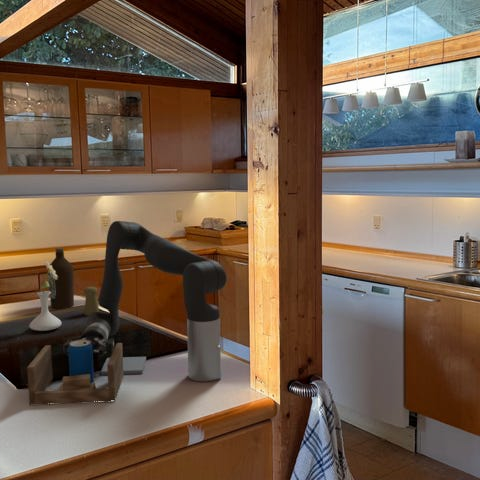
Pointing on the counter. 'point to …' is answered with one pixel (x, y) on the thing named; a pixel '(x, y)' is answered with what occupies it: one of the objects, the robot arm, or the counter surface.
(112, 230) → the robot arm
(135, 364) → the grey mat
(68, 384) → the upper offcut
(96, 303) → the cork
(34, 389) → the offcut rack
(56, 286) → the olive oil
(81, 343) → the beverage can
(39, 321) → the flower in vase
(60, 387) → the lower offcut
